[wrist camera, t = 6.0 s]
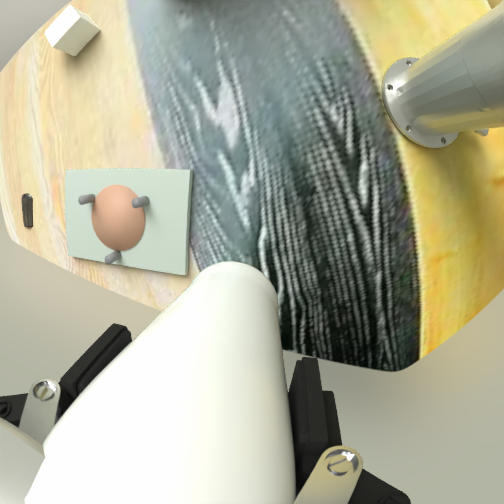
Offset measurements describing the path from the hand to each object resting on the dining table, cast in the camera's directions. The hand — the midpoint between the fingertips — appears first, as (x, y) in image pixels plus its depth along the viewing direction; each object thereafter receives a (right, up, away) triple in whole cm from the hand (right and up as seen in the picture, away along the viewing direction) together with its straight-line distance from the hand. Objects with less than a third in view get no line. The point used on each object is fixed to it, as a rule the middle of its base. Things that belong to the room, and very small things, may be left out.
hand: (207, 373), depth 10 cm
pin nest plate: (-16, +10, +24) cm, 30 cm away
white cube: (-26, +40, +16) cm, 50 cm away
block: (-38, +12, +26) cm, 47 cm away
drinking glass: (+1, +2, +7) cm, 7 cm away
